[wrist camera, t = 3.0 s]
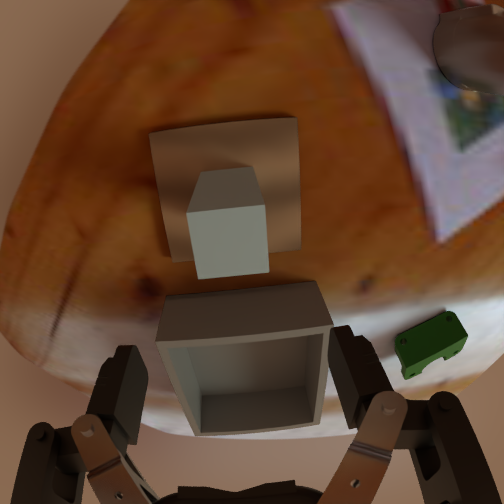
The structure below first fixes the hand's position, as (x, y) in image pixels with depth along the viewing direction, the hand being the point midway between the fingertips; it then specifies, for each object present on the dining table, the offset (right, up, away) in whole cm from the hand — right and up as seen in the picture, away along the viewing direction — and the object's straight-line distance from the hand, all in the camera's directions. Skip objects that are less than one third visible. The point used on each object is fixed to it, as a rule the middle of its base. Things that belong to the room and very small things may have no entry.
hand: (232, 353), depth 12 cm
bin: (0, -9, +30) cm, 31 cm away
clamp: (+28, -9, +32) cm, 44 cm away
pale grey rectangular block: (-1, +10, +18) cm, 21 cm away
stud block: (-1, +10, +19) cm, 22 cm away
